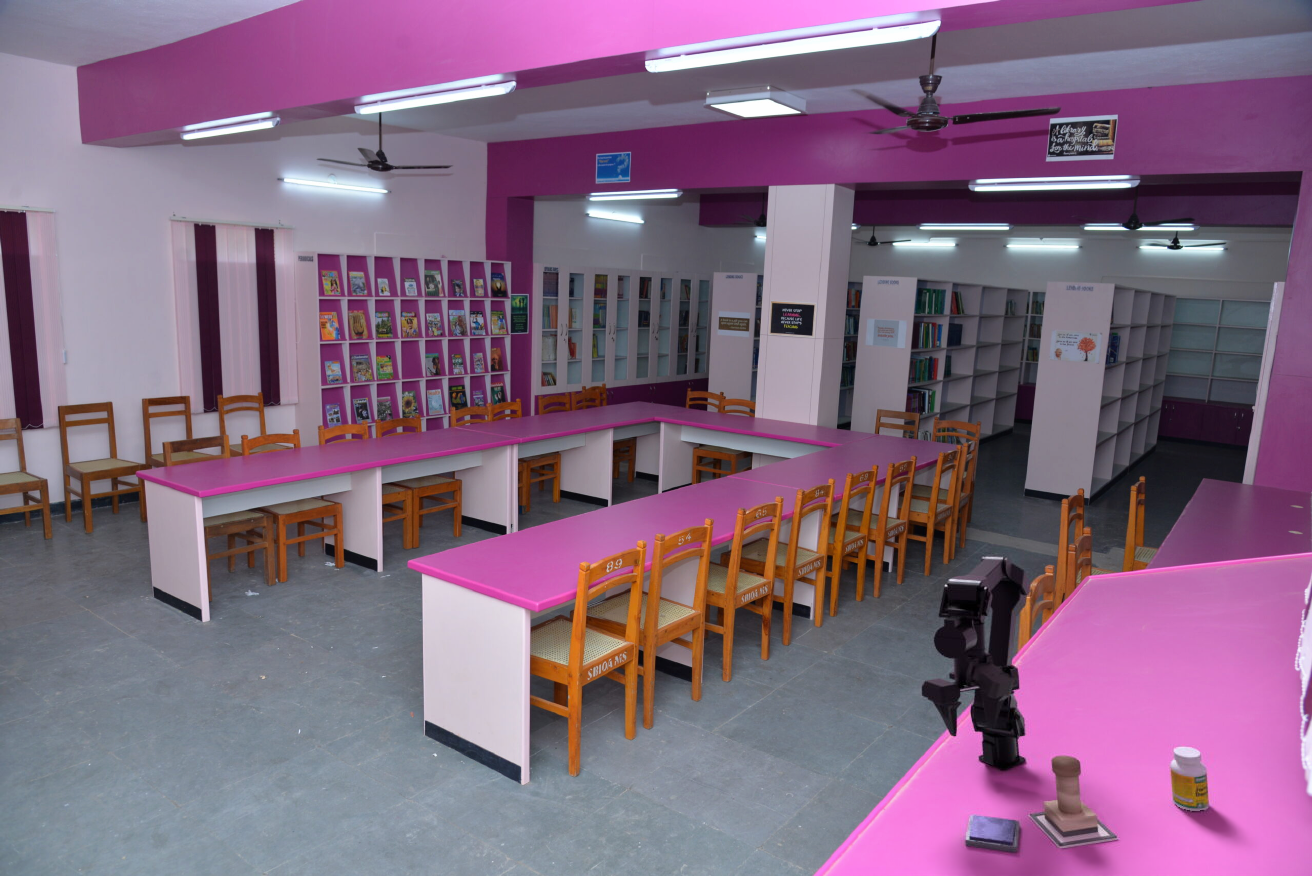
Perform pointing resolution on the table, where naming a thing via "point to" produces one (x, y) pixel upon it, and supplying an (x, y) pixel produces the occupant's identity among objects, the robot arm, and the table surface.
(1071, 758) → the stamp
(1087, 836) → the marked square
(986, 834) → the ink pad
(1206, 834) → the table surface
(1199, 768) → the supplement bottle
